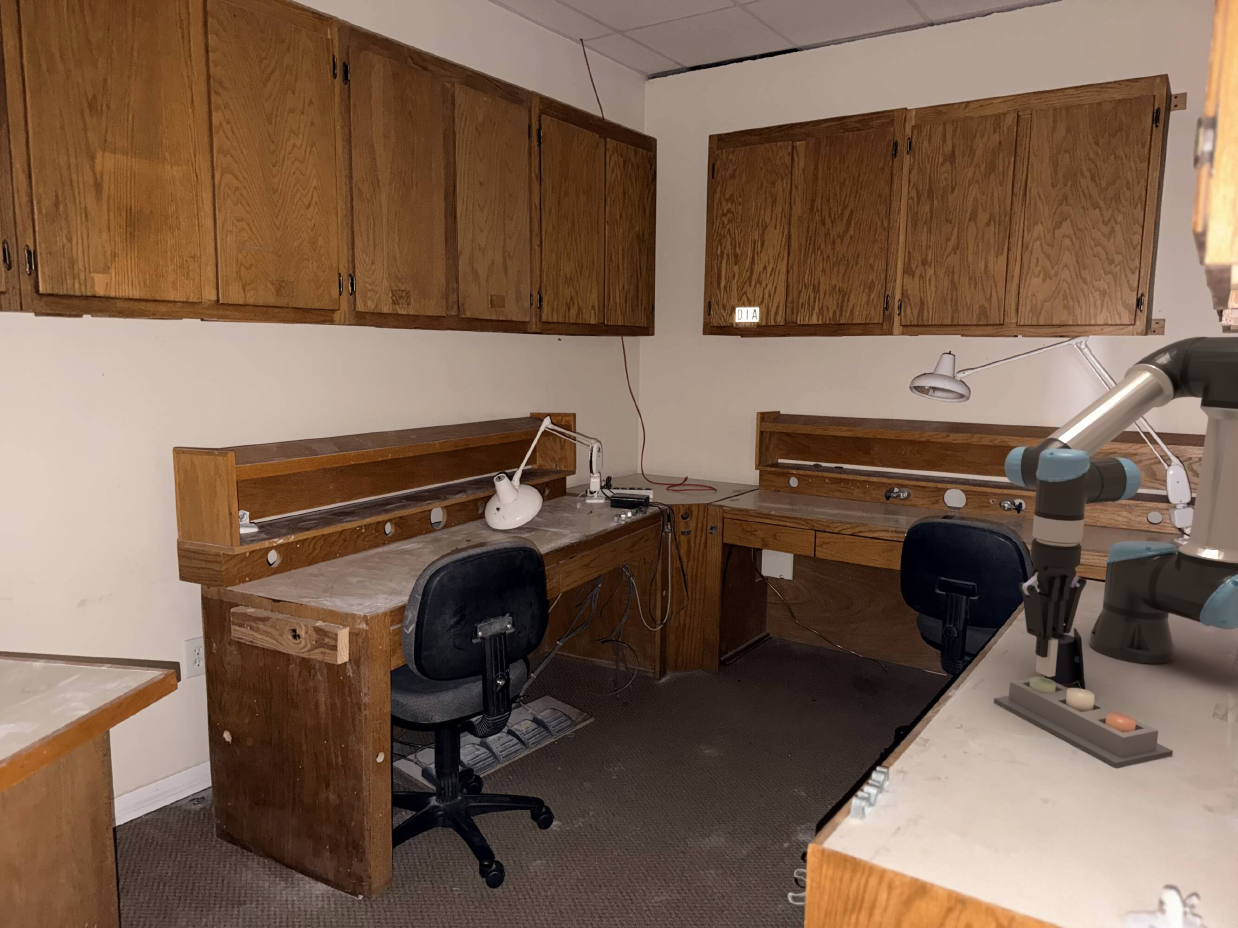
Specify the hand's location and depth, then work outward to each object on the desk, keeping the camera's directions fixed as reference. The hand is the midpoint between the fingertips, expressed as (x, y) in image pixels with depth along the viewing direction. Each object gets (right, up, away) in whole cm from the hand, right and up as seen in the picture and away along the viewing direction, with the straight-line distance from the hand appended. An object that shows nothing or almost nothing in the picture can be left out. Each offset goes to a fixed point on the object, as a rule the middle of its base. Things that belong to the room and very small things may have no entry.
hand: (1045, 673), depth 145 cm
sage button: (0, -5, +1) cm, 5 cm away
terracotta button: (+5, -7, -13) cm, 16 cm away
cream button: (+2, -5, -7) cm, 8 cm away
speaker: (+9, -5, +12) cm, 16 cm away
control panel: (+2, -7, -6) cm, 10 cm away
